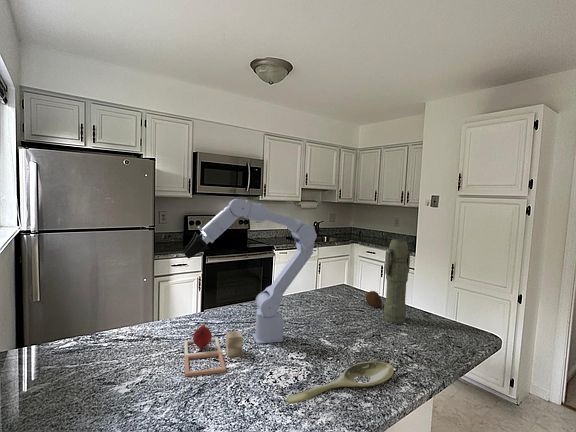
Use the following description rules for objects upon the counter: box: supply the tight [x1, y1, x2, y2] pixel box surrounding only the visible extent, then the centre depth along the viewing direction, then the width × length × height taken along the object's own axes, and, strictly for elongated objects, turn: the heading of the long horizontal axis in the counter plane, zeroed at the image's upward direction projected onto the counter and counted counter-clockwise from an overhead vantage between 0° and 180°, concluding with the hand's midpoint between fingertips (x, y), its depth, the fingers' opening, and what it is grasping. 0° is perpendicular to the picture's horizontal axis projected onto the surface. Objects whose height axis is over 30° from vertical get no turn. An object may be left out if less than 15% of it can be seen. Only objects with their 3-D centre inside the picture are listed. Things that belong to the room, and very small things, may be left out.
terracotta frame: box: [184, 351, 227, 378], centre depth 97 cm, size 11×11×1 cm
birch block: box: [225, 330, 244, 358], centre depth 105 cm, size 4×4×6 cm
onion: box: [192, 323, 213, 349], centre depth 107 cm, size 6×6×8 cm
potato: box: [365, 290, 383, 308], centre depth 161 cm, size 7×10×7 cm
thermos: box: [383, 238, 411, 325], centre depth 141 cm, size 9×12×35 cm
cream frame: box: [183, 337, 222, 356], centre depth 107 cm, size 11×11×1 cm
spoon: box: [285, 361, 395, 404], centre depth 89 cm, size 35×11×2 cm, turn 119°
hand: (186, 254), depth 107 cm, fingers open, 7 cm apart
